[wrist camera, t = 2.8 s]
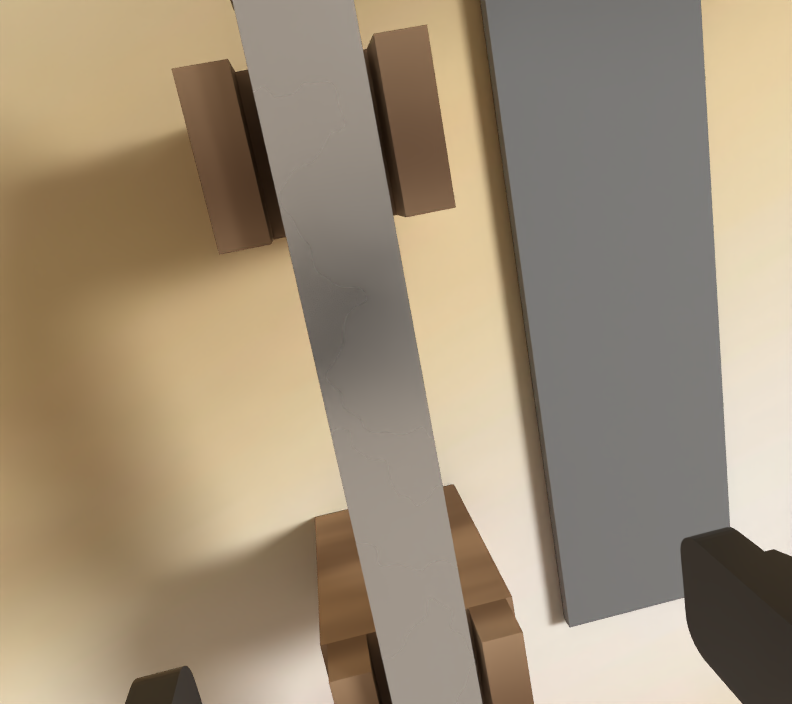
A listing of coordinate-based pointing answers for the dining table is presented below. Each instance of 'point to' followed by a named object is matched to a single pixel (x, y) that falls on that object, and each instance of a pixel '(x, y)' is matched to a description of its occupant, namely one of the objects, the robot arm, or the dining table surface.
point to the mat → (615, 283)
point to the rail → (361, 334)
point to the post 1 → (247, 156)
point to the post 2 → (355, 631)
